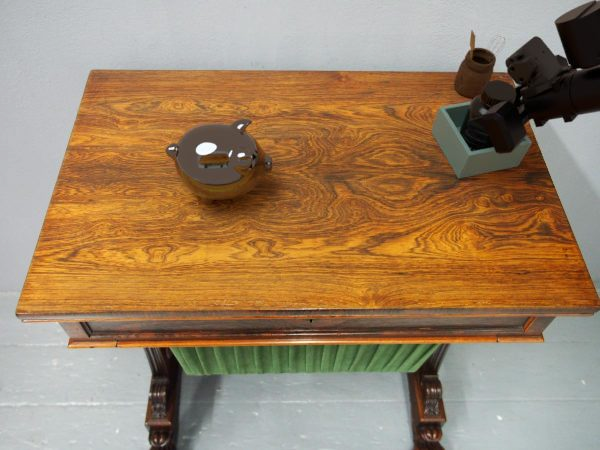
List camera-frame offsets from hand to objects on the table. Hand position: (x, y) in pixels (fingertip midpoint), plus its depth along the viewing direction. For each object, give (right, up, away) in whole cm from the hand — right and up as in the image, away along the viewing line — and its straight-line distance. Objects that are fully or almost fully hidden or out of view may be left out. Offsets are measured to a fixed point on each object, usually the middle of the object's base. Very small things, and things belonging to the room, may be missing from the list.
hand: (481, 112), depth 78 cm
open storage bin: (+1, -5, +6) cm, 7 cm away
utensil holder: (+3, +8, +14) cm, 16 cm away
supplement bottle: (+1, -5, +5) cm, 7 cm away
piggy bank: (-40, -12, -1) cm, 42 cm away
